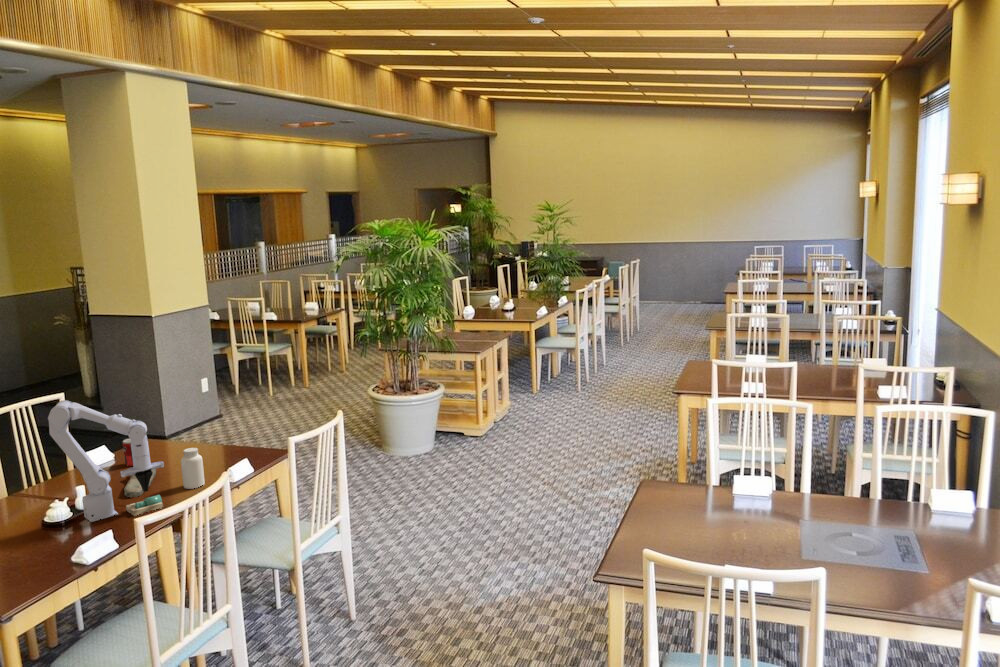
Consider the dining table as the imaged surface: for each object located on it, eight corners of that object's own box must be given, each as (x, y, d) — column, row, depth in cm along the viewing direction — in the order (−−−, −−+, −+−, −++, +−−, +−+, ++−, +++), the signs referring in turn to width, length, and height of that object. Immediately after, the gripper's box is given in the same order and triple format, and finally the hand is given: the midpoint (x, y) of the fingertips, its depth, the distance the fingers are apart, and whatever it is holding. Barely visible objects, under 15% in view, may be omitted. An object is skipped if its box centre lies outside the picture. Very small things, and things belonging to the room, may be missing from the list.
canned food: (131, 461, 344) (127, 437, 343) (148, 460, 344) (145, 436, 342) (122, 467, 337) (118, 442, 335) (140, 466, 336) (136, 442, 335)
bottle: (162, 506, 286) (138, 512, 281) (158, 504, 289) (135, 510, 284) (161, 495, 286) (137, 502, 280) (157, 493, 289) (133, 500, 283)
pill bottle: (200, 489, 303) (196, 452, 301) (180, 490, 303) (175, 453, 301) (208, 482, 311) (204, 446, 309) (188, 482, 311) (184, 446, 309)
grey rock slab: (118, 503, 296) (147, 501, 299) (117, 490, 295) (146, 488, 298) (134, 471, 329) (160, 469, 332) (133, 459, 328) (159, 457, 331)
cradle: (134, 516, 277) (133, 511, 277) (126, 510, 284) (125, 505, 283) (163, 508, 284) (162, 502, 284) (155, 502, 290) (154, 497, 290)
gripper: (157, 448, 289) (161, 482, 291) (116, 457, 280) (120, 493, 282) (164, 451, 284) (168, 487, 286) (122, 461, 274) (127, 498, 276)
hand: (145, 490), depth 284 cm, fingers closed
